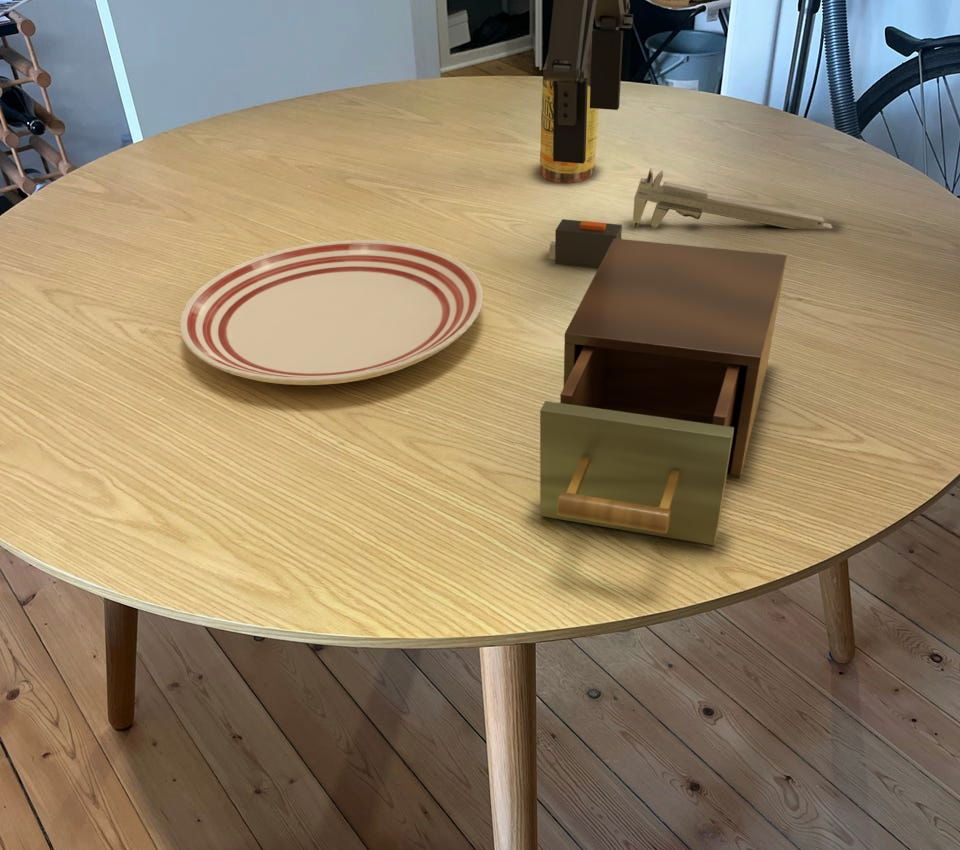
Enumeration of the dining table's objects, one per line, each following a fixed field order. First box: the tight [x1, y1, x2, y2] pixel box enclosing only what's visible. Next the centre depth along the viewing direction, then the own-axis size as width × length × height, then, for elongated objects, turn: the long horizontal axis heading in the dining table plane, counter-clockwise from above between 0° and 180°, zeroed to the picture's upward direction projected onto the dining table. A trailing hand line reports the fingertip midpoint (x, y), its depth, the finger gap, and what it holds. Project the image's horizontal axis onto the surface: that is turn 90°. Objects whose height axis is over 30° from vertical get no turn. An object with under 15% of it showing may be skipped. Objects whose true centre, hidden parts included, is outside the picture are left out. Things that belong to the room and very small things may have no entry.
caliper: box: [632, 167, 833, 230], centre depth 104 cm, size 20×1×6 cm, turn 83°
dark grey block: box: [549, 218, 623, 270], centre depth 100 cm, size 7×3×4 cm, turn 72°
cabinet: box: [563, 238, 788, 479], centre depth 79 cm, size 16×14×11 cm
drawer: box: [539, 345, 745, 546], centre depth 71 cm, size 20×12×9 cm, turn 162°
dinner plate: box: [179, 239, 484, 386], centre depth 93 cm, size 27×27×3 cm
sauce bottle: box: [539, 25, 600, 184], centre depth 110 cm, size 6×6×20 cm
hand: (587, 133), depth 93 cm, fingers open, 13 cm apart
